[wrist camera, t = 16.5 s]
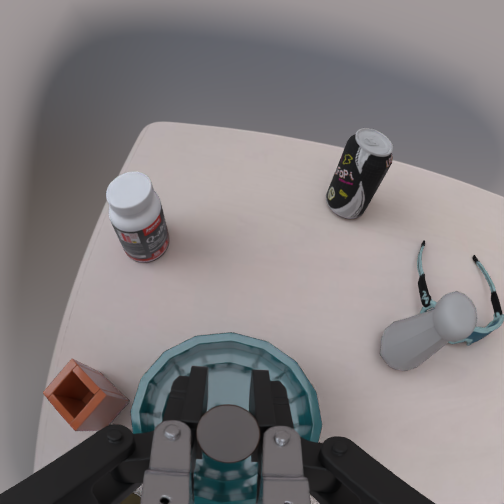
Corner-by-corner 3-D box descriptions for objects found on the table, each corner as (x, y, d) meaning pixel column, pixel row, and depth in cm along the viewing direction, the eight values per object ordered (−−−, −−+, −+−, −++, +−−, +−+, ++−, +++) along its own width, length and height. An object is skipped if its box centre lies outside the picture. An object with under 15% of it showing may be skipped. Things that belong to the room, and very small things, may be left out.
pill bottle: (163, 267, 36) (146, 216, 27) (118, 260, 36) (92, 210, 27) (174, 225, 39) (163, 169, 30) (132, 220, 39) (112, 166, 30)
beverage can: (318, 191, 44) (342, 124, 33) (352, 186, 45) (381, 124, 34) (334, 225, 41) (366, 160, 31) (370, 218, 42) (406, 157, 32)
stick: (210, 424, 26) (183, 438, 9) (224, 408, 27) (222, 392, 9) (228, 437, 25) (234, 474, 8) (241, 421, 26) (273, 428, 9)
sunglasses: (413, 344, 33) (436, 325, 29) (404, 247, 42) (420, 224, 39) (492, 352, 33) (515, 337, 29) (475, 266, 42) (492, 247, 38)
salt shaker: (368, 368, 32) (435, 336, 21) (376, 321, 35) (438, 271, 23) (411, 378, 32) (486, 349, 20) (417, 332, 34) (486, 289, 23)
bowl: (118, 427, 27) (96, 427, 22) (212, 319, 34) (210, 298, 28) (242, 519, 23) (246, 539, 18) (332, 404, 30) (354, 399, 25)
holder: (74, 400, 27) (42, 392, 21) (99, 371, 29) (71, 357, 23) (103, 430, 26) (75, 431, 20) (130, 401, 28) (106, 395, 22)
